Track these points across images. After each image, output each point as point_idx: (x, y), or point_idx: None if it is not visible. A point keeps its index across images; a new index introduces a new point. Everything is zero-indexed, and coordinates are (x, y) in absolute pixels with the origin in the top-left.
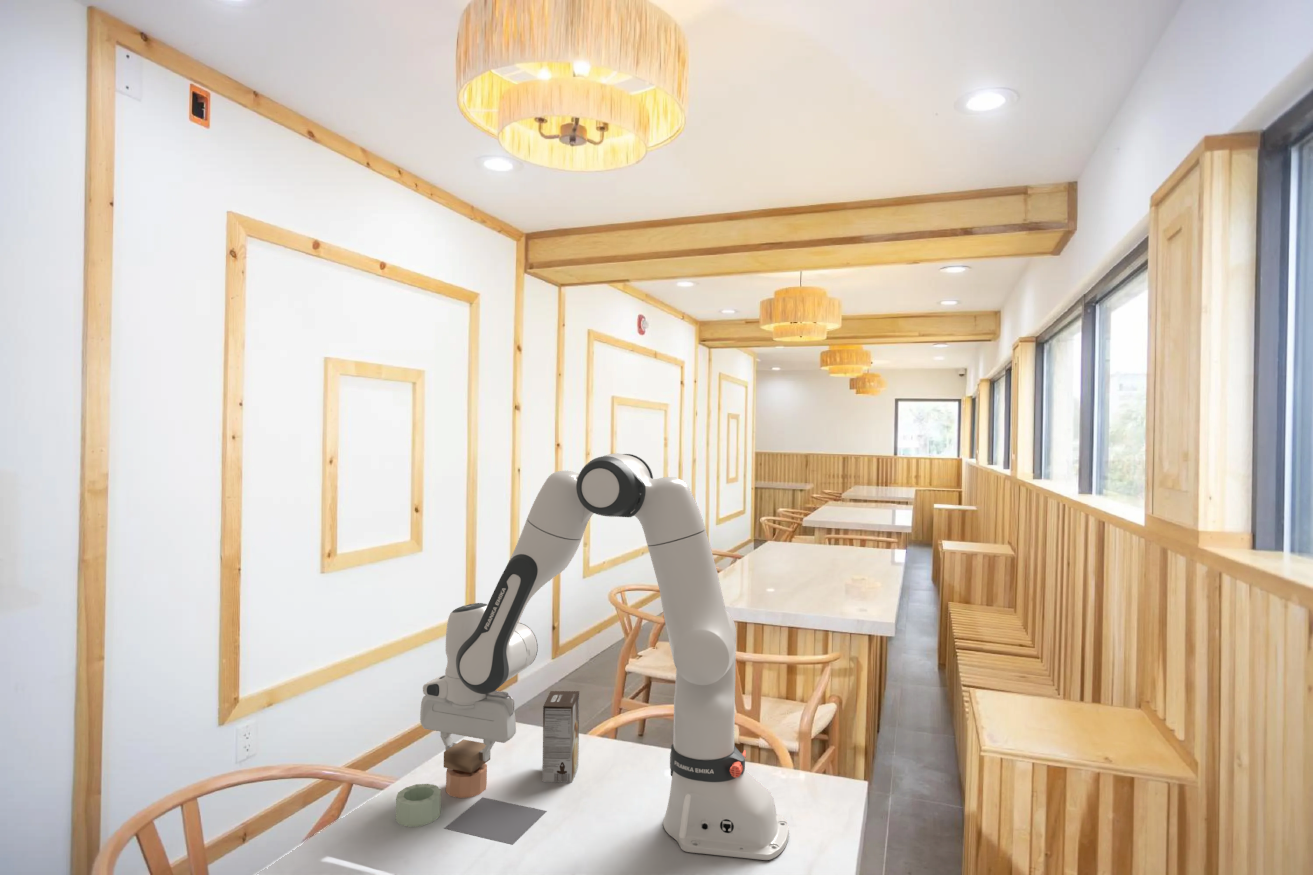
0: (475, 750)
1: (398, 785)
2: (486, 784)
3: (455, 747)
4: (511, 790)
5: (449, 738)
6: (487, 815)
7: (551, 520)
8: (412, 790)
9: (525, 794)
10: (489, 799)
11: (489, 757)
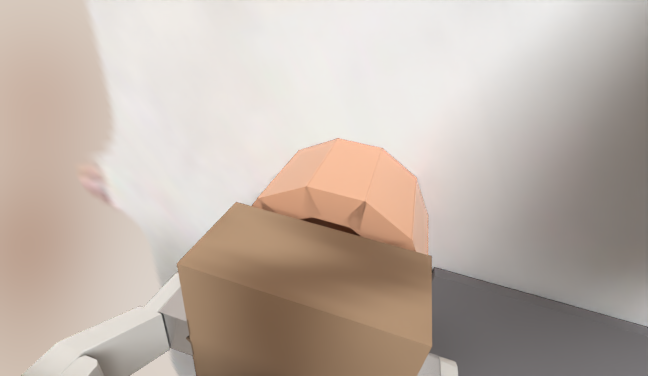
0: None
1: (128, 194)
2: (418, 195)
3: (216, 357)
4: (550, 193)
5: (124, 346)
6: (490, 365)
7: None
8: None
9: (637, 222)
10: (468, 288)
11: (455, 366)
